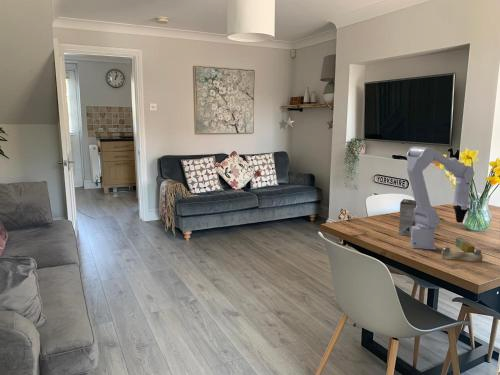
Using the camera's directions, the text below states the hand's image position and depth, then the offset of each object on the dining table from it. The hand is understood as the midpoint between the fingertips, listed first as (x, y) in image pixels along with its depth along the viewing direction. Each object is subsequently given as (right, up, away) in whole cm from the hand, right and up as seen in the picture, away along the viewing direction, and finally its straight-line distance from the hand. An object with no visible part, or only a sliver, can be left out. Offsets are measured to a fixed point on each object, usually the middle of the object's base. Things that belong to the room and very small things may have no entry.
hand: (459, 222), depth 174 cm
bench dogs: (-10, -13, -20) cm, 26 cm away
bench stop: (-10, -13, -20) cm, 26 cm away
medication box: (-3, -12, -9) cm, 15 cm away
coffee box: (-17, -7, +16) cm, 25 cm away
